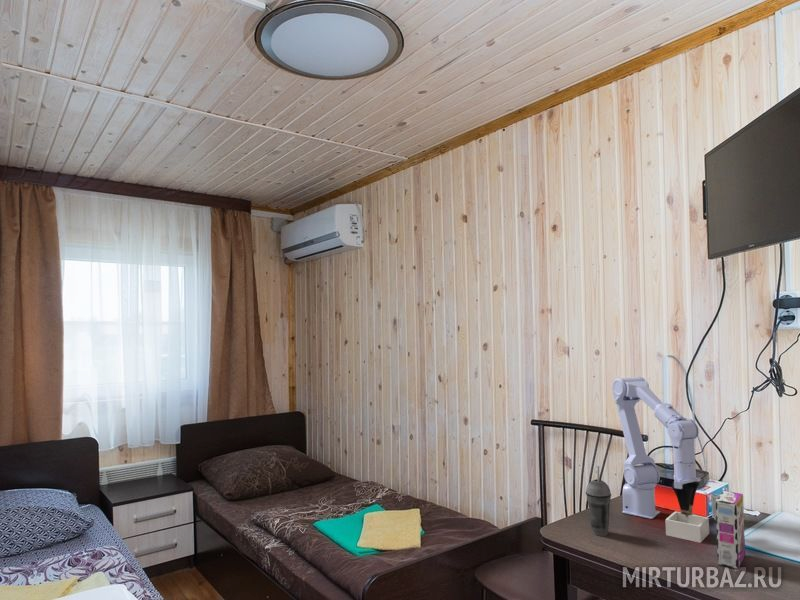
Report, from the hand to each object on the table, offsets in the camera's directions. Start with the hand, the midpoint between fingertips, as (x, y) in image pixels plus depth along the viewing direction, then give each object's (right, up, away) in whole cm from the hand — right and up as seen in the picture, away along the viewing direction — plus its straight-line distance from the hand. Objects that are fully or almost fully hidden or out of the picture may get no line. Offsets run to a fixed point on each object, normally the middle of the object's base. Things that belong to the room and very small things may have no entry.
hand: (686, 508), depth 164 cm
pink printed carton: (+2, -7, -19) cm, 20 cm away
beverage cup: (-25, -8, +2) cm, 26 cm away
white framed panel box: (0, -8, 0) cm, 8 cm away
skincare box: (+17, -8, +10) cm, 21 cm away
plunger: (0, -7, 0) cm, 7 cm away
